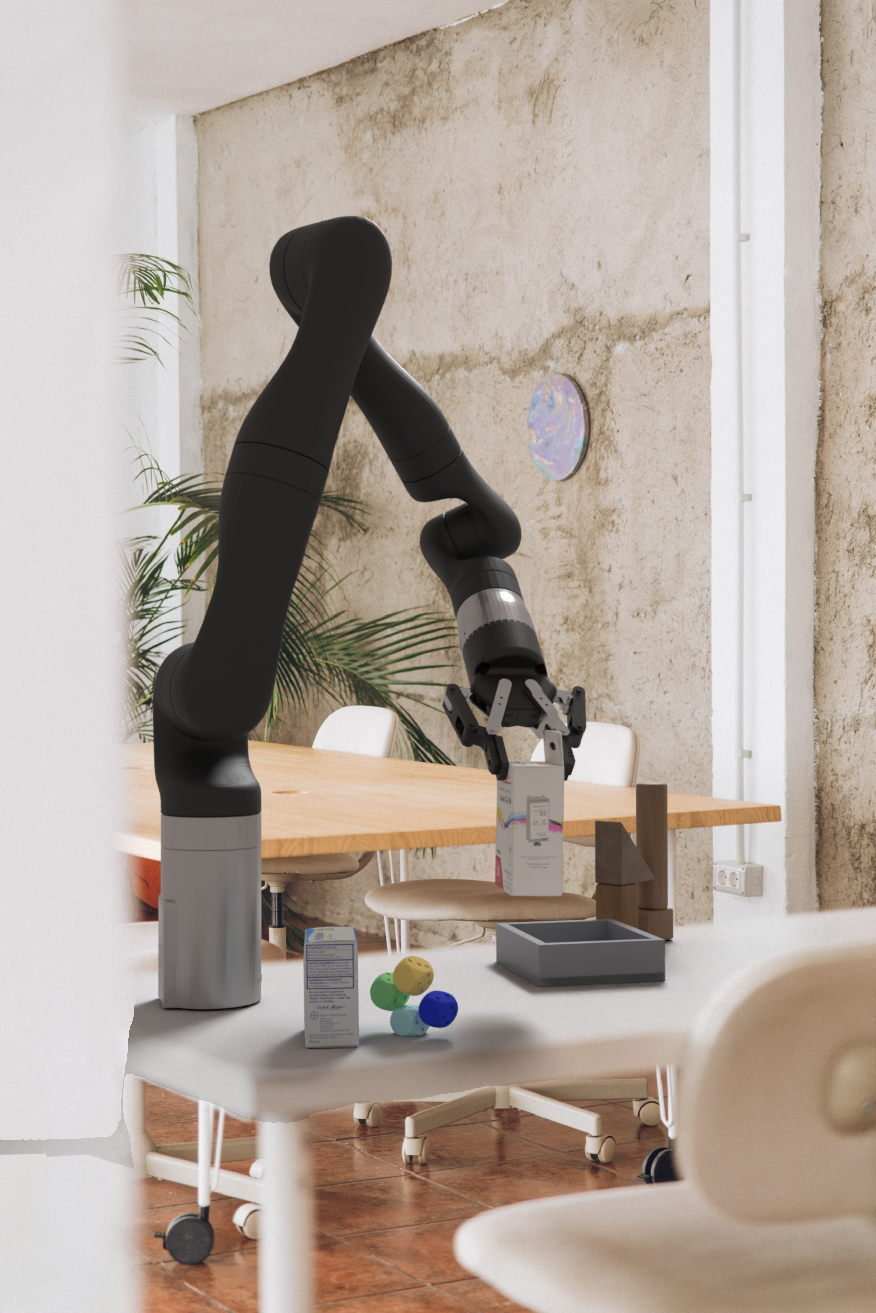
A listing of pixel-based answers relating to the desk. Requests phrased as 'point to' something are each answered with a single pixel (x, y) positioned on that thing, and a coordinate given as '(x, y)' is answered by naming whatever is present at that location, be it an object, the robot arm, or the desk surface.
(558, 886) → the ink cartridge box
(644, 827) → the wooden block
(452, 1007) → the dice
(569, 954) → the box
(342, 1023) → the medicine box
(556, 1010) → the desk surface
